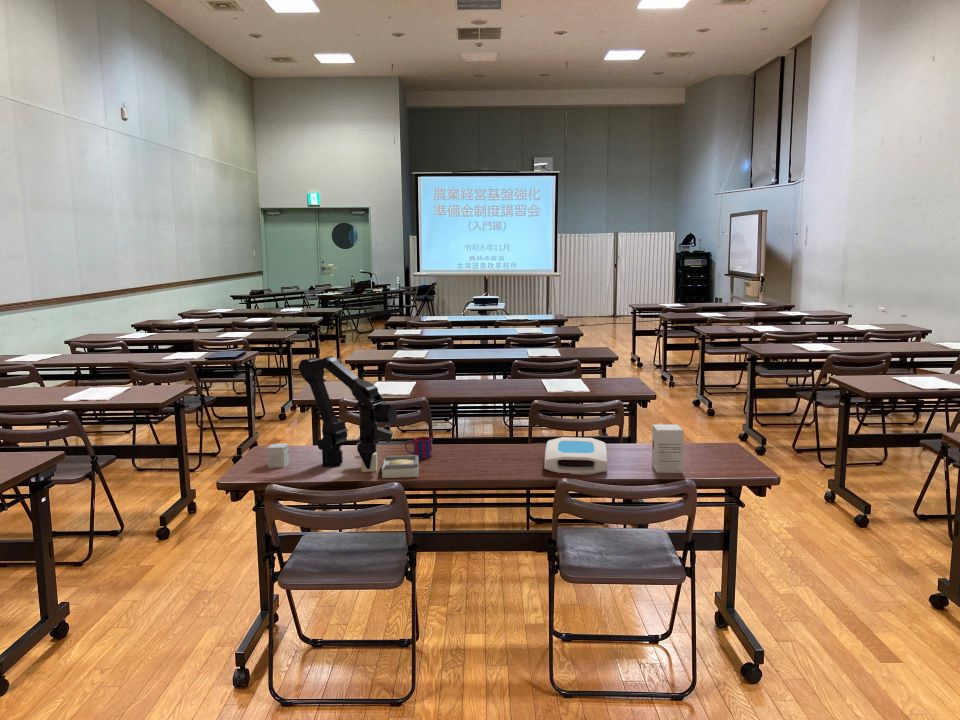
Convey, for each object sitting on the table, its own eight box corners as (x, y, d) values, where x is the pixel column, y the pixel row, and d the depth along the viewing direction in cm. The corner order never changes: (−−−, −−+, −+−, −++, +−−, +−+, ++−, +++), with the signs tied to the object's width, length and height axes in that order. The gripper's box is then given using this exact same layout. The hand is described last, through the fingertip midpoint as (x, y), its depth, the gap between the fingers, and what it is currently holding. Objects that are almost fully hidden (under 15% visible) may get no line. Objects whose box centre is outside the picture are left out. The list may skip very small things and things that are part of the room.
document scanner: (544, 473, 238) (544, 456, 238) (548, 452, 266) (548, 436, 265) (607, 475, 235) (607, 457, 235) (604, 453, 263) (604, 437, 262)
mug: (431, 458, 258) (431, 440, 257) (404, 459, 258) (403, 440, 257) (433, 454, 264) (432, 436, 263) (406, 454, 265) (406, 436, 264)
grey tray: (382, 478, 235) (381, 466, 234) (384, 466, 248) (384, 455, 248) (418, 476, 235) (418, 465, 235) (418, 465, 249) (418, 454, 249)
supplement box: (651, 465, 246) (651, 423, 244) (677, 466, 245) (678, 424, 243) (656, 473, 237) (657, 429, 235) (683, 473, 236) (684, 429, 234)
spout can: (354, 472, 242) (353, 453, 241) (355, 468, 247) (355, 450, 246) (376, 471, 243) (375, 453, 242) (377, 467, 248) (376, 449, 247)
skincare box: (284, 467, 248) (283, 447, 247) (267, 467, 249) (266, 447, 248) (289, 463, 254) (288, 443, 253) (273, 463, 255) (272, 443, 254)
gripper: (390, 426, 234) (391, 472, 236) (392, 415, 253) (393, 457, 255) (356, 427, 233) (357, 473, 235) (361, 415, 252) (362, 458, 254)
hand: (369, 465), depth 245 cm, fingers open, 9 cm apart
